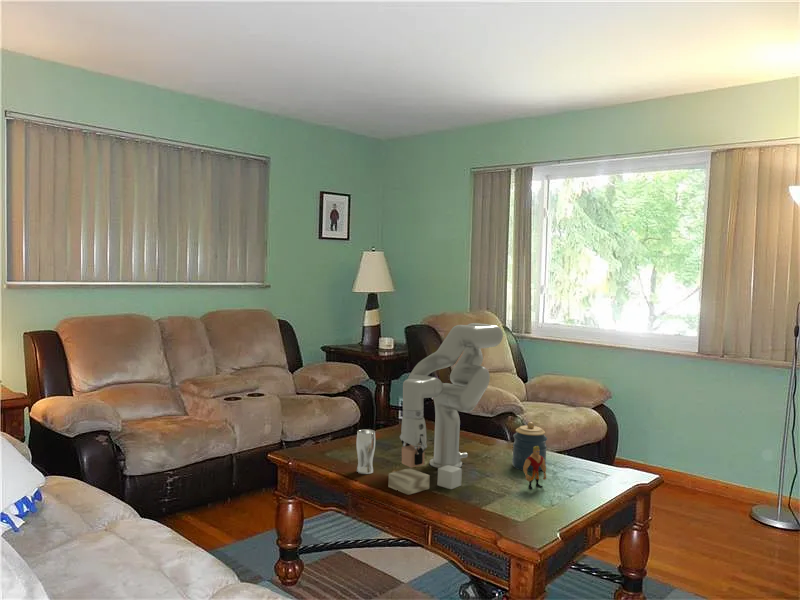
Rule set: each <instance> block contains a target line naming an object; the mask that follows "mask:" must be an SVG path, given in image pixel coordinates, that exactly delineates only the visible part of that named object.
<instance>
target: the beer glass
mask: <svg viewBox="0 0 800 600" xmlns="http://www.w3.org/2000/svg"><path fill="white" fill-rule="evenodd" d="M356 433H357V434H356V453H357V463H358V464H357V467H356V473H357V472H358V474H359V475H360V474H361V475H370V474H373V473H374V467H373V461H374V455H375V449H376V431H375V430H373V429H364V428H363V429H359V430H357V432H356Z"/></svg>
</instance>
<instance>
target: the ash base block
mask: <svg viewBox="0 0 800 600" xmlns="http://www.w3.org/2000/svg"><path fill="white" fill-rule="evenodd" d="M430 476H431V475H430V474H427V473H425V472H421V471H419V470H418V469H415V468H411V467H408V468H404V469H400V470H397V471H393V472H389V473H388V484H387V485H388V488H391V489H393V490H395V491H397V490H398V492H400V493H403V494H405V495H412V494H416V493H420V492H422V491H425V490H426V491H427V490H429V489H430V478H431V477H430Z"/></svg>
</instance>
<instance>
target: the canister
mask: <svg viewBox="0 0 800 600" xmlns="http://www.w3.org/2000/svg"><path fill="white" fill-rule="evenodd" d="M545 434H546V431H545V430H544V429H543V428H541V427H539V426H536V425H535V424H534V422H532V421H529V422H528V423H527V425H525V424H524V425H520V426H519V427H517V428H516V429H515V433H514V434H513V435H512V437H513V438H514V441H513V443H512V446H513V447H512V459H511V462H512V463H511V464H512V466H513V467H514V468H515V469H517V470H521V471H523V466H524V463H525V461H526V459H527V458H528V457H529V456H531V454H533V453H534V452H533V447H535V446H539V450H540V453H539V455H540V456H542V457H543V458H544V460H545V465H546V466H547V449H548V448H547V447H548V446H547V443H546V441H548V437H547V436H546V435H545ZM540 470H542V469H541V466H539V469H538V472H541V471H540ZM527 472H533V467H532V466H531V465H530V466H529V467H528V469H527Z"/></svg>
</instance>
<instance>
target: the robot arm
mask: <svg viewBox="0 0 800 600" xmlns="http://www.w3.org/2000/svg"><path fill="white" fill-rule="evenodd" d="M503 335H504V333H503V330H502V328H501V327H500V326H498V325H495V324H486V323H479V322H477V323H476V322H472V323H468V324H457V325H455V326H453V327H452V328H451V329H450V330H449V332H448V334H447V335H446V337H445V338H444V340H443V341H442V342H441V344H440V346H439V347H438V349H437V350H436V351H435V352H432V353H431V354H430V355H428V356H426V357H424V358H423V359H421V360H420V361H419V362H417V364H416V365H415V366H414V367H413V369H412V371H411V372H410V373H409V375H408V377H407V378H406V379H404V381H403V382H402V420H401V429H400V431H401V433H400V435H399V439H400V440H401V444H402V447H405V446H409V445H413V446H414V447H415V452H416V454H415V465H419V464H422V463H423V453H424V451H425V450H427V448H428V445H427V441H428V440H427V426H426V425H427V424H426V420H425V417H424V401H425V400H424V399H429V398H430V399H431V398H433V403H434V413H435V417H434V418H435V419H434V420H435V422H434V441H433V442H434V445H433V458H431V459H429V465H430V466H431V467H433V468H436V469H438V468H441V467H444V466H446V465H450V466H454V467H457V468H461V467H462V466H463V462H462V459H464V458H468V457H469V455H468V454H469V453H467V451H466V452H462V453H461V452H460V451H459V450H460V448H459V447H460V428H461V427H460V425H461V420H460V415H459V412H461V413H470V412H472V411H473V410H474V409H475V408H476V407H477V405H478V404H479V402H480V400H481V399H482V396H483V395H484V393H485V392H486V390H487V389H488V387H489V383H490V379H491V376H490V375H491V374H490V372H489V370H488V368H486V367H485V366H483V365H482V363H483V361H484V355H483V352H482V349H487V348H488V349H489V348H494V347H497V346H499V345H500V344H501V343H502V340H503V339H504V338H503V337H504V336H503ZM451 366H453V368H452V370H451V372H450V374H449V380H450V382H451V383H448V382H445V383H444V382H442V381H441V379H439V378H437V377H434V376H430V374H432V373H434V372H436V371H438V370H441V369H442V370H443V369H446V368H448V367H451ZM418 447H420V449H419V450H418Z"/></svg>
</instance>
